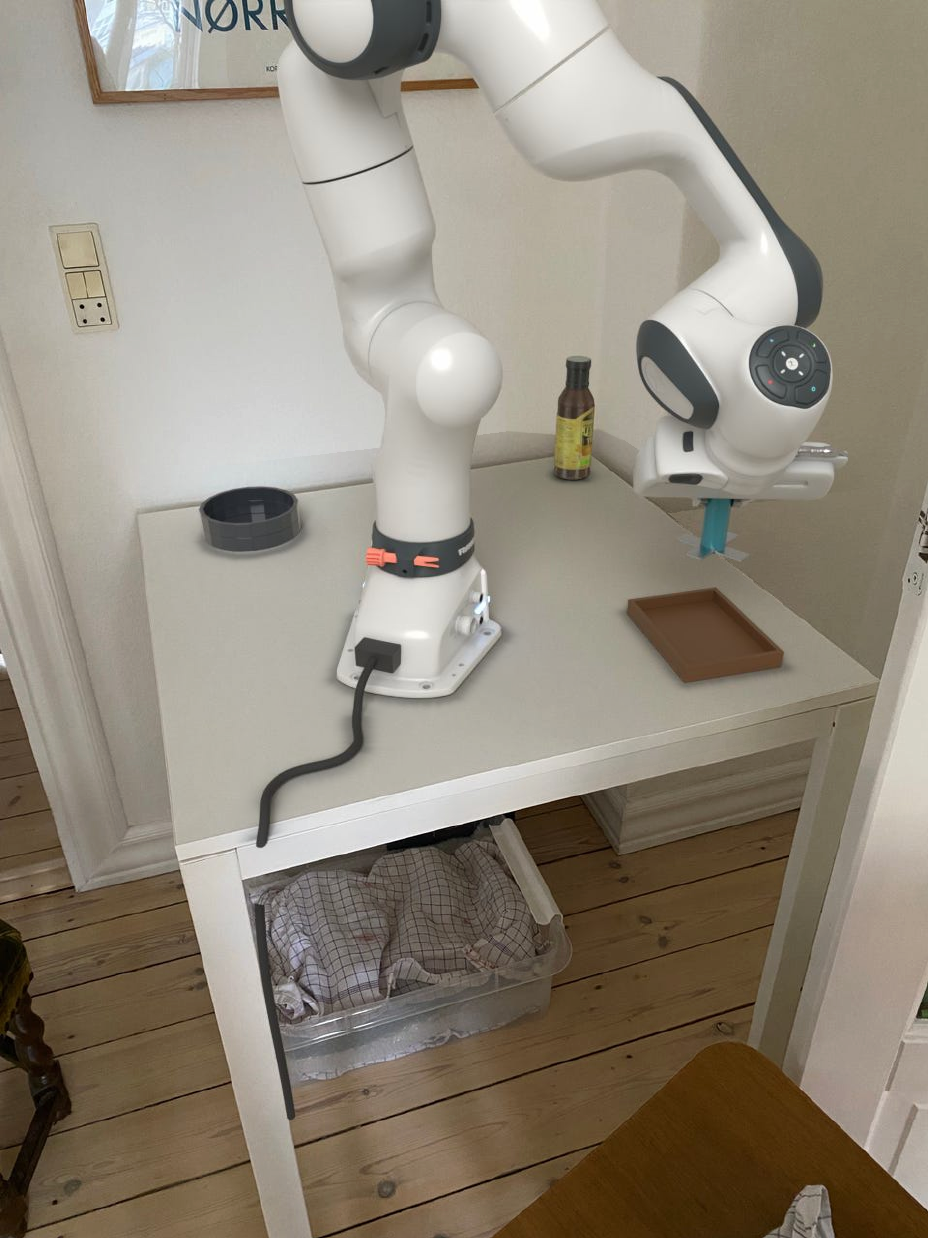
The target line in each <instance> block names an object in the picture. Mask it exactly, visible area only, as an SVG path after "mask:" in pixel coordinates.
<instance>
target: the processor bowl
mask: <svg viewBox="0 0 928 1238" xmlns="http://www.w3.org/2000/svg"><path fill="white" fill-rule="evenodd" d="M299 505H300V504H299V500H298V498H297V496H296V495H295V494H294V493H292V492H290V491H289V490H287V489H283V488H279V487H275V486H274V487H273V486H262V485H260V486H258V485H257V486H245V487H237V488H232V489H229V490H224V491H221V492H218V493H216V494H213V495H211V496H209V497H208V498H206V499H205V500H204V501H202V502H201V503H200V506H199V508H198V512H199V518H200V525H201V532H202V536H203V539H204V541H205V542H206V543H207V544H208V545H209V546H211V547H213V548H215V549H219V550H223V551H226V552H237V553H238V552H239V553H240V552H241V553H245V552H259V551H264V550H270V549H272V548H276V547H279V546H281V545H284V544H287V543H288V542H289V541H291V540H293V539H294V538H295V537H296V536H298V534H299V533H300V531H301V526H302V524H301V515H300V506H299Z"/></svg>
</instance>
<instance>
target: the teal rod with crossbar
mask: <svg viewBox="0 0 928 1238" xmlns="http://www.w3.org/2000/svg"><path fill="white" fill-rule="evenodd" d="M731 504H732V499H722V498H709V502H708V504H707V506H706V507H704V513H703V521H702V527H701V528H702V529H701V536H700V537H698V536H696V535H692V534H689V533H686V532H685V533H683V534H681V535H680V536H677V538H676V539H675V541H676V542H679V543H682V544H684V545H689V546H691V547H694V548H692V549H690V550H689V551H687V552H685V556H687V557H688V558H692V559H695V560H698V561H700V562H701V561H703V560H705V559H706V558H708V557H709V556H711V555H717V556H721V557H724V558H727V559H730V560H733V561H736V562H739V563H742V562H743V561H745V560H747V559H748V558H750V557H751V554H750V553H747V552H745V551H742V550H738V549H735V548H732V547H729V546H727V545H729V544H731V542H733V541H735V540H736V539H738V538H739V537H740V535H739V534H738V533H734V532H731V531H729V523H730V517H731V511H732V507H731Z"/></svg>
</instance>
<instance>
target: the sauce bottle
mask: <svg viewBox="0 0 928 1238" xmlns="http://www.w3.org/2000/svg"><path fill="white" fill-rule="evenodd" d="M591 367H592V358H590V357H588V356H583V355H570V356H567V358H566V360H565V368H566V377H565V387H564V389H563V390H562V391H561V393H560V394H559V396H558V398H557V412H556V418H555V419H556V420H555V439H554V440H555V441H554V456H553V457H554V458H553V461H554V462H553V464H554V469H553V471H554V476H556V477H557V478H559V479H563V480H571V481H577V480H583V479H585V478H587V477H588V476H589V475H590V474H591V470H590V469H591V465H592V453H593V440H594V428H595V427H594V424H595V410H596V404H595V398H594V395H593V393H592V392H591V389H590V388H589V386H590V371H591Z"/></svg>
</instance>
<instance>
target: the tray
mask: <svg viewBox="0 0 928 1238" xmlns="http://www.w3.org/2000/svg"><path fill="white" fill-rule="evenodd" d="M626 615H627V616H628V617H629V618H630V620H631V621H632V622H633V623H634V624H635V625H636V627H637V628H638V629H639V630H640V631H641V633H642V634H643V635H644V636H645V638H646V639H647V640H648V641H649V642H650V644H651V645H652V646H653V647H654V648H655V649H656V651H657V652H658V653H659V654H660V655H661V657H662V658H663V659H664V660H665V662H666V663H667V664H668V665H669V667H671V669H672V670H673V671H674V672H675V673H676V676H678V677H679V678H680V680H681V681H682V682H683V683H684V684H687V683H691V682H698V681H704V680H710V679H718V678H722V677H728V676H729V677H730V676H734V675H741V674H747V673H748V674H749V673H754V672H760V671H766V670H772V669H778V668H782V665H783V660H784V655H785V651H784V650H783V649H782V647H780V646H779V645H777V643H775V641H774V640H772V639H771V638H770V637H769V636H768V635H767V634H766V633H765V632H764V631H763V630H762V629H761V628H760V627H758V626H757V625H756V623H755V622H753V621H752V620H751V619H750V618H749V617H748V616H747V615H746V614H745V613H744V612H743V611H742V610H741V609H740V608H738V607H737V606H736V605H735V604H734V602H732V601H731V600H730V599H729V598H728V597H727V596H726V595H725V594H724V593H723V592H722V591H721V590H720V589H718V588H717V587H707V588H700V589H693V590H687V591H680V592H672V593H671V592H670V593H666V594H658V595H650V596H644V597H636V598H629V599H627V608H626Z"/></svg>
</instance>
